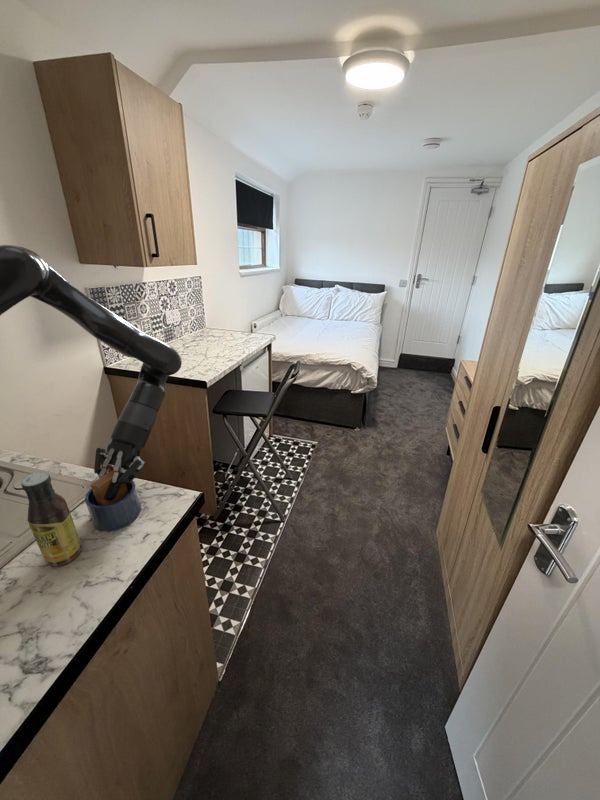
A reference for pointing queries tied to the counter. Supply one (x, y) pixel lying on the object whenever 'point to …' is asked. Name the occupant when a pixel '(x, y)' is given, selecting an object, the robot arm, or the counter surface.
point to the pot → (114, 510)
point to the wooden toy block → (102, 486)
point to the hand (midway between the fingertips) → (103, 497)
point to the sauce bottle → (50, 520)
